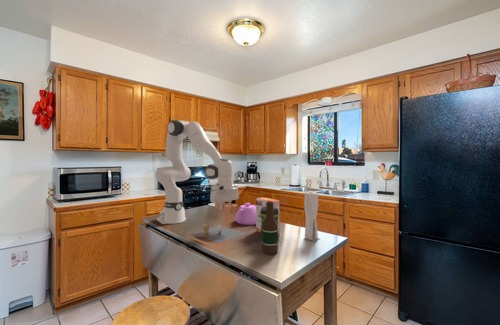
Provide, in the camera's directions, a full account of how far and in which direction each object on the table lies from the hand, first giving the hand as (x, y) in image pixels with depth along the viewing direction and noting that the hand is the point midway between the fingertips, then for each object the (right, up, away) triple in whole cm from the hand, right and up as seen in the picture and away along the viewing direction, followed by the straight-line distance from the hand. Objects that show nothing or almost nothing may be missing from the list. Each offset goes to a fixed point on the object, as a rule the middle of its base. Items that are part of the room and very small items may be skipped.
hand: (225, 208), depth 146 cm
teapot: (+16, -14, +17) cm, 27 cm away
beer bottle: (+25, -15, -31) cm, 42 cm away
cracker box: (+25, -14, -6) cm, 30 cm away
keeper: (-10, -14, -10) cm, 20 cm away
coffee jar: (+26, -15, -17) cm, 34 cm away
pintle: (-2, -14, -7) cm, 16 cm away
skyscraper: (+49, -15, -13) cm, 53 cm away
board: (-3, -14, -6) cm, 16 cm away
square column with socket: (0, -1, 0) cm, 1 cm away
